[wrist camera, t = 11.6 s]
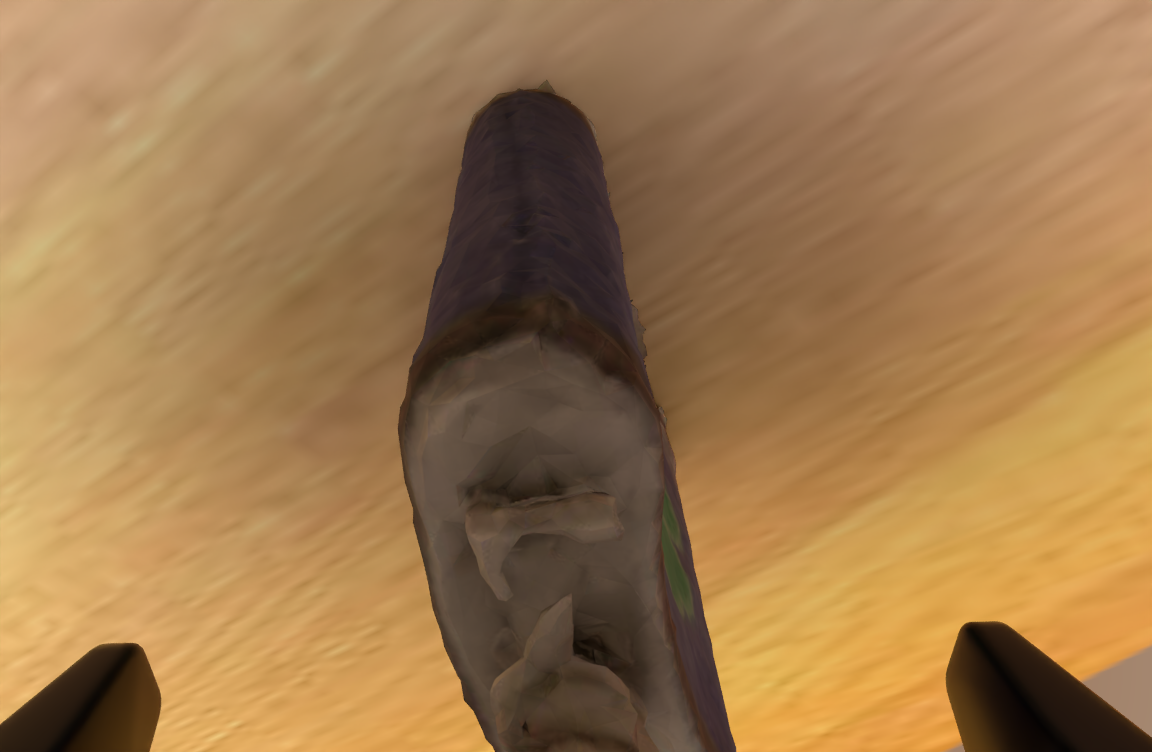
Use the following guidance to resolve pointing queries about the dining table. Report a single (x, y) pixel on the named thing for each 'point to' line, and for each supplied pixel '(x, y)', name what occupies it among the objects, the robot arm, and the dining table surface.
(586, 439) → the flask
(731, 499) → the dining table surface
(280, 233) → the dining table surface
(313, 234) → the dining table surface
